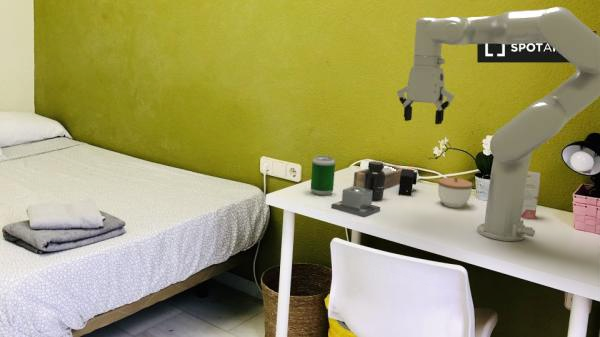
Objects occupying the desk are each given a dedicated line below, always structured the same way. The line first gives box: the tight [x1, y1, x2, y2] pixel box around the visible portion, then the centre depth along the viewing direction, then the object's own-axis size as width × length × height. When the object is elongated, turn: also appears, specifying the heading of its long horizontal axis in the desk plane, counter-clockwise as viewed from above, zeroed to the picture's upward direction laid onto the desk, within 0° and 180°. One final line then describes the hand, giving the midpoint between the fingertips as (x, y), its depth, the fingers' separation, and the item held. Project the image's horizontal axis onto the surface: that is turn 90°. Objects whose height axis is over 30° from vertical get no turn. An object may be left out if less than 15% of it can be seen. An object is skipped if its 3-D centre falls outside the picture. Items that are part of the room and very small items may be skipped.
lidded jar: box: [437, 176, 473, 209], centre depth 196 cm, size 11×11×9 cm
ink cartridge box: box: [521, 171, 541, 220], centre depth 188 cm, size 9×5×15 cm, turn 68°
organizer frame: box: [352, 163, 406, 190], centre depth 217 cm, size 9×20×5 cm, turn 142°
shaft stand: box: [330, 189, 381, 218], centre depth 185 cm, size 12×9×6 cm
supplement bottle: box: [363, 160, 385, 202], centre depth 197 cm, size 7×7×12 cm
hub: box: [341, 186, 373, 210], centre depth 184 cm, size 7×7×5 cm
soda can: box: [310, 155, 336, 196], centre depth 200 cm, size 8×8×12 cm
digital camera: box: [398, 168, 418, 197], centre depth 208 cm, size 10×5×7 cm, turn 167°
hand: (422, 122), depth 175 cm, fingers open, 9 cm apart
